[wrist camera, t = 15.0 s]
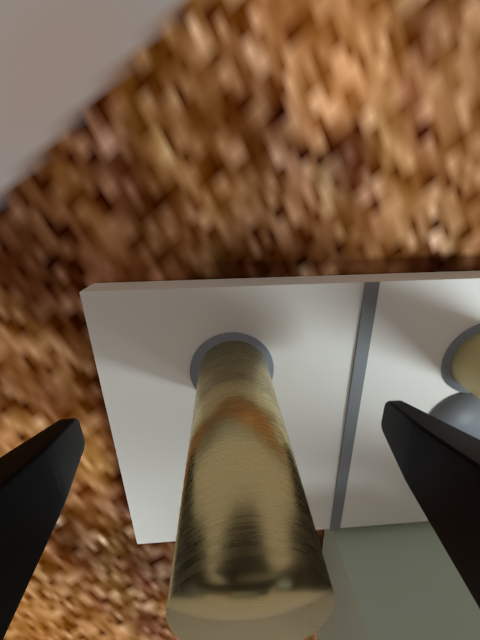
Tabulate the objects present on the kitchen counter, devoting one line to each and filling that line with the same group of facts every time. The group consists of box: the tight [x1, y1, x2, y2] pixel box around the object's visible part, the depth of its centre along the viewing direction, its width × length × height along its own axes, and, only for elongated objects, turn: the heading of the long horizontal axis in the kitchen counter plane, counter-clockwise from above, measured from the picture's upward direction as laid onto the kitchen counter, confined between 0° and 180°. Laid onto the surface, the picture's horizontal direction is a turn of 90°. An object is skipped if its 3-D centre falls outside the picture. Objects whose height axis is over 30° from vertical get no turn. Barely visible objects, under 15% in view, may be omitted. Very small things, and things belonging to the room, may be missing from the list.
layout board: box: [79, 271, 480, 544], centre depth 10 cm, size 20×13×8 cm, turn 91°
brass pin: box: [166, 340, 335, 640], centre depth 8 cm, size 3×3×7 cm
